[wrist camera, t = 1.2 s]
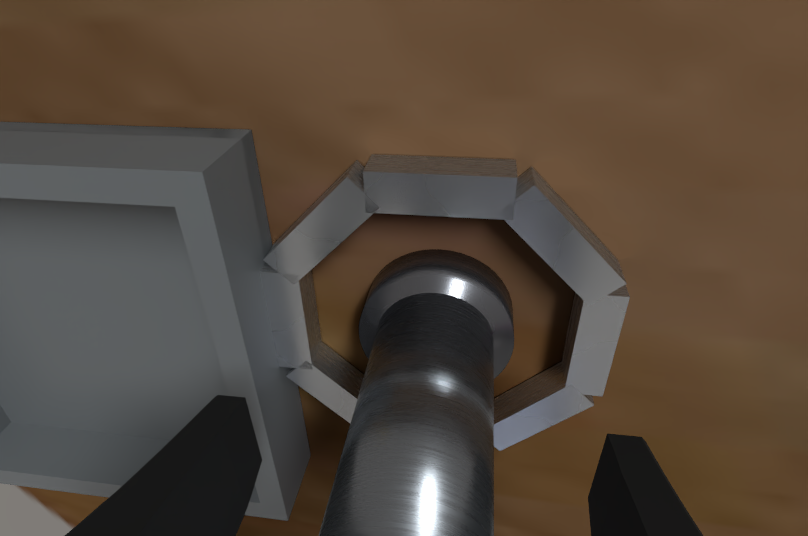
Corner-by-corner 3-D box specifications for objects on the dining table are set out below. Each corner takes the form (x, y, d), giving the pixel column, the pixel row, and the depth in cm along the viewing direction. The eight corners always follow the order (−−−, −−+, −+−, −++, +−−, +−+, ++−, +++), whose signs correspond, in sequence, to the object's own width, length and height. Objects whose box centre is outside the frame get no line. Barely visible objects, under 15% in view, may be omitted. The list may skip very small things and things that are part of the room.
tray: (310, 455, 19) (288, 520, 17) (13, 421, 20) (-41, 477, 18) (251, 129, 12) (202, 172, 10) (-182, 116, 14) (-301, 150, 12)
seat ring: (579, 436, 16) (584, 463, 16) (302, 407, 18) (292, 431, 17) (649, 164, 11) (660, 183, 11) (255, 149, 13) (238, 166, 12)
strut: (505, 369, 15) (513, 654, 9) (371, 358, 16) (298, 621, 10) (520, 254, 13) (541, 529, 7) (363, 245, 14) (263, 495, 8)
